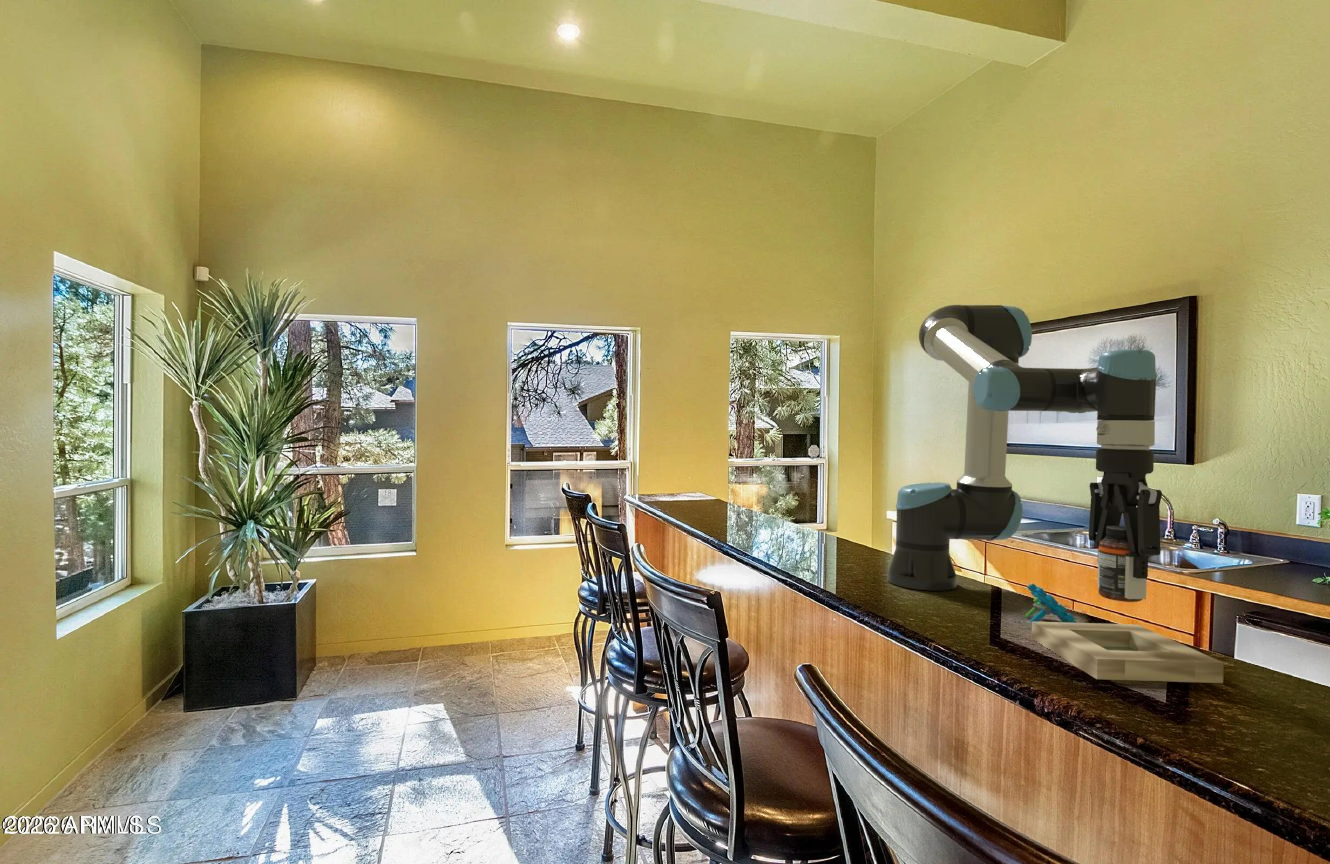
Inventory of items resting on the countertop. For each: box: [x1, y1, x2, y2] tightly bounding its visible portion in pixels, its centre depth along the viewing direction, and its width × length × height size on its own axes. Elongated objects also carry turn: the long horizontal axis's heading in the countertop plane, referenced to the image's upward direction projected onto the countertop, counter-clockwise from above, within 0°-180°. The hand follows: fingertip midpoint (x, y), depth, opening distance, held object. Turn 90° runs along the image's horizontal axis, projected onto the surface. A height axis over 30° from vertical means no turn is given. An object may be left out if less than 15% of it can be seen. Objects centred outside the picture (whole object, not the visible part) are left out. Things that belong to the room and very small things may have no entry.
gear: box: [1024, 582, 1078, 624], centre depth 122 cm, size 11×6×10 cm
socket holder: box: [1031, 621, 1225, 684], centre depth 104 cm, size 18×18×3 cm
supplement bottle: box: [1097, 525, 1144, 603], centre depth 104 cm, size 6×6×11 cm
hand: (1120, 592), depth 104 cm, fingers closed on supplement bottle, 6 cm apart
